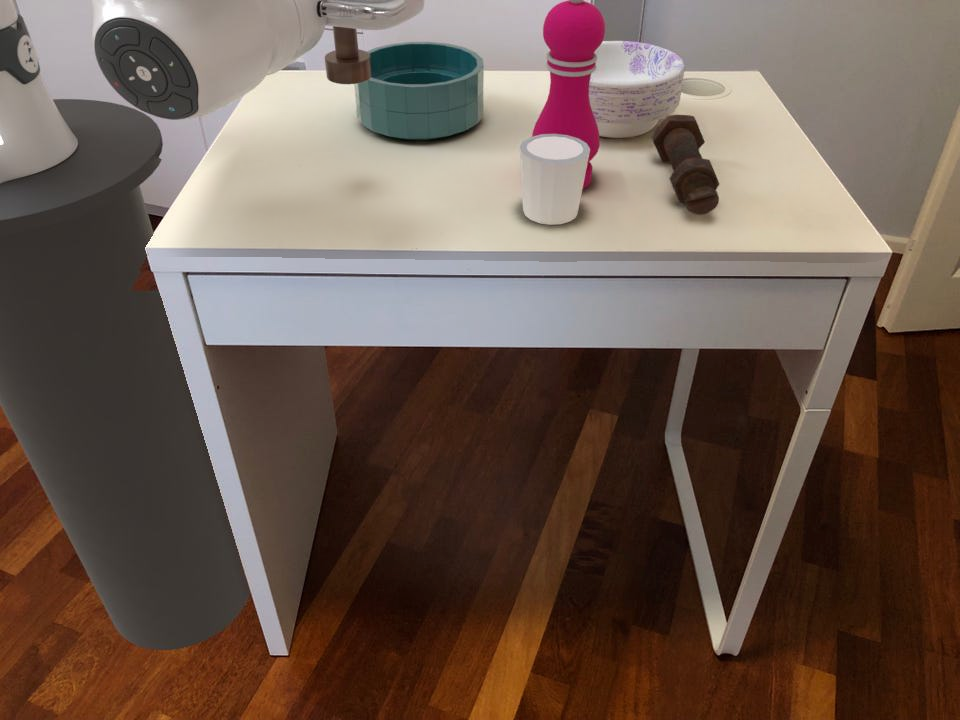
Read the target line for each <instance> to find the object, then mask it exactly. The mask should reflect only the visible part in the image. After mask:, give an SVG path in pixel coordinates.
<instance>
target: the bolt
mask: <svg viewBox="0 0 960 720" xmlns="http://www.w3.org/2000/svg"><path fill="white" fill-rule="evenodd" d="M651 140H652V143H653V145H654V147H655V150H656V152H657V154H658V156H659V158H660V160H661V163H670V166H671V167H672V170H673V172H672V174H671V175H670V177H669V181H670V185H671V187H672V188H673V191H674V193H675V195H676V197H677V199H678V201H679V203H681V204H685V207H686V209H687V211H688V212H689V213H691V214H694V215H701V216H702V215H706V214H709V213H711V212H712V211H714V210H715V209H716V208H717V207H718V205H719V203H720V202H719V201H720V197H719V194H718V192H717V190H718V188H719V186H720V182H719V180H718V176H717V173H716V172H715V169H714V167H713V164H712V162H711V160H710V159H707V158H703V156H702V154H701V152H700V149H701V147H702V146H703V145H704V144H705V142H706V141H705V139H704V137H703V134H702V131H701V129H700V127H699V124H698V121H697V119H696V117H695V116H694V115H689V114H672V115H671V114H670V115H668V116H666V117H664V119H663V120H662V121H661V122H660V123H659V124H658V126H657V127H656V128H655V130H654V131H653V133H652V135H651Z"/></svg>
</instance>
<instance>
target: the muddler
mask: <svg viewBox="0 0 960 720" xmlns="http://www.w3.org/2000/svg"><path fill="white" fill-rule="evenodd" d="M357 31H358V29H354V28H345V27H336V26H332V33H333V43H334V50H332V51H329V52H328V53H326V54H325V55H324V66H325V73H326V79H327V80H328V81H329V82H331V83H333V84H334V83H335V84H338V85H354V84H357V83H361V82H365V81H367V80H369V79H370V78H371V76H372V72H371V59H370V54H369V53H368V52H367V51H366V50H363V49H360V48H359V44H358V43H359V42H358V32H357Z"/></svg>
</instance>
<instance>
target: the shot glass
mask: <svg viewBox="0 0 960 720" xmlns="http://www.w3.org/2000/svg"><path fill="white" fill-rule="evenodd" d="M589 153H590V148H589V146H588V145H587V143H585V142H584V141H582V140H580V139H578V138H575V137H572V136H568V135H561V134H541V135H537V136H533V137H532V136H529V137H528V138H526V139H525V140H523V141H522V142H521V143H520V145H519V163H520V179H521V181H520V182H521V196H522V197H521V198H522V211H523V214H524V216H525V217H526V218H527V219H529V220H530V221H532V222H534V223H538V224H540V225H541V224H542V225H549V226H555V225H564V224H566V223H570V222H572V221H573V220H575V219H576V218H577V217H578V213H579V209H580V203H581V198H582V192H583V190H584V189H583V184H584V178H585V173H586V168H587V163H588V158H589Z"/></svg>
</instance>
